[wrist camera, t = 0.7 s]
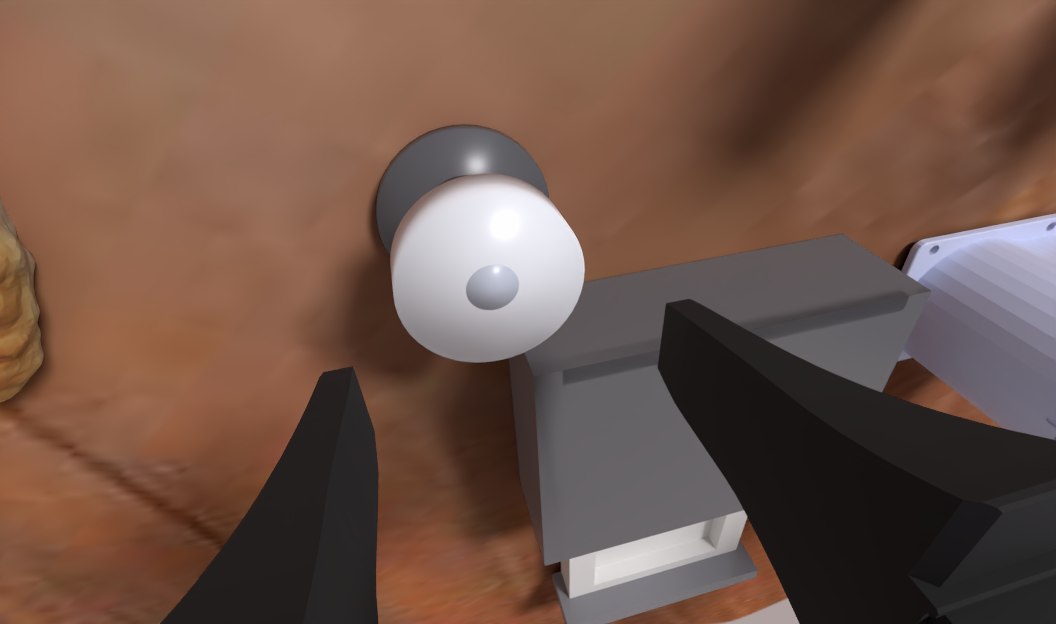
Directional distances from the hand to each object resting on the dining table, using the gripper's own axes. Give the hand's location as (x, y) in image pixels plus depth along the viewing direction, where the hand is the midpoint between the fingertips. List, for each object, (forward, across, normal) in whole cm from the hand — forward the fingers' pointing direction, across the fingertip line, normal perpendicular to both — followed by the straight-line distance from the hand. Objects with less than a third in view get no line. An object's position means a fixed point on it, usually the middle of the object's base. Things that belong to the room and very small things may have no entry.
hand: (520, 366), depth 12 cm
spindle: (+8, 0, 0) cm, 9 cm away
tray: (+8, -9, +22) cm, 25 cm away
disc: (+5, 0, 0) cm, 5 cm away
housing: (+8, -9, +10) cm, 16 cm away
